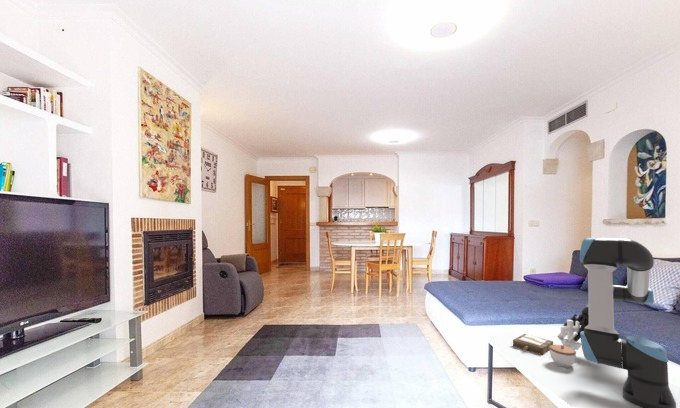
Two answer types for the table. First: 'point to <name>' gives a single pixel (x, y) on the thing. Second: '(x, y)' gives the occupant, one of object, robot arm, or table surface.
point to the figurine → (570, 334)
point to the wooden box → (532, 344)
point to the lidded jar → (563, 355)
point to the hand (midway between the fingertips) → (564, 341)
